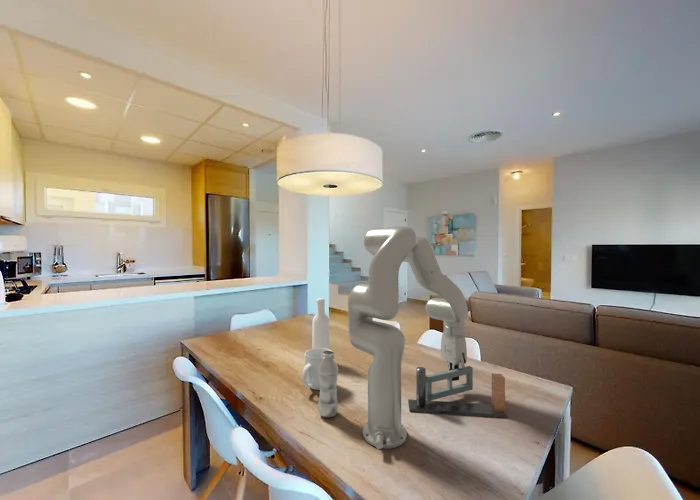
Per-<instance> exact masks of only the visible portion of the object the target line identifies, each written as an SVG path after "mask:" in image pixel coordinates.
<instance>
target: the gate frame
mask: <svg viewBox="0 0 700 500" xmlns="http://www.w3.org/2000/svg"><path fill="white" fill-rule="evenodd" d="M415 369H416V370H415V371H416V374H415V375H416V378H415V379H416V384H415V385H416V387H415V388H416V389H415V390H416V393H415V396H416V397H415V398H416V399H410V398H409V399H407V401H408V409H409V412H410V413H411V412H412V413H424V414H425V413H426V414H441V415H457V416H469V417H470V416H472V417H486V418H487V417H488V418H499V419H500V418H502V419H503V418H504V419H507V418H508V415H507V413H506V377H505V376H504V375H503V374H502V373H491V404H489V403H479V402H478V403H477V402H476V403H475V402H462V401H461V402H457V401H443V400H441V401H440V400H431V401H427V400H426V375H427V373H426V372H427V371H426V368H425V367H424V366H423V367H422V366H418V367H416V368H415Z"/></svg>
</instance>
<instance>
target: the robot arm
mask: <svg viewBox="0 0 700 500" xmlns="http://www.w3.org/2000/svg"><path fill="white" fill-rule="evenodd" d="M363 245H364V248H365V250H366V251H367V253H369V254H370V255H371V256H373V258H372V259H371V260H370V263H369V267H368V268H369V269H368V281H367V282H368V283H360V284H357V285H356V286H354V287H352V290H351V291H350V293H349V296H348V300H347V302H348V303H347V319H348V323H347V325H348V329H347V330H348V338H349V341H350V344H351V345H352V347H353V348H355V349H357V350H359V351H362V352H364V353H366V354H369V355H371V356H373V358H372V362H371V363H370V365H369V366H368V370H367V421H366V422H365V424H364V425H363V426H362V430H361V431H362V437H363V439H364V441H366V442H367V443H368V444H369V445H371V446H374V447H375V448H376V449H378V450H382V449H394V448H398V447H400V446H402V445H403V444H404V443H406V441H407V439H408V438H407V437H408V432H407V428H406V427H405V426H404V424H402V364H403V355H404V350H405V343H406V340H405V339H406V338H405V335H404V333H403V332H402V330H400V328H398V326H395V325H392V324H389V323H385V322H381V321H377V320H383V321H390V320H393V319H395V318H396V317H397V314H398V312H399V302H400V298H399V297H400V296H399V291H400V290H399V275H400V273H399V272H400V267H401V265H402V264H403V263H407V264H409V266H410V268H411V271H412V273H413V274H414V276H415V277H414V278H415V279H416V283H418V284H419V286H421V287H422V288H424V289H426V290H427V291H429V292H432V293H434V294H436V295H438V296H439V297H433V298H430V299H429V300H428V301H427V302H426V304H425V313H426V315H427V316H429V318H431V319H434V320H439V321H443V325H442V326H443V328H442V329H443V331H442V334H441V339H440V340H441V342H440V356H441V357H442V359H444V360H446V362H447V367H448V371H449V370H454V369H458V368H460V369H464V368H465V367H466V366H465V364H467V360H468V351H467V340H466V320H467V318H468V317H469V307H468V303H467V301H466V298H465V296H464V294H463V292H462V290H461V288H460V287H459V286H457V284H456V283H454V282H453V280H451V279H450V278H449V277H447V276H446V275H445V274H444V273H442V271H441V268H440V265H439V262H438V260H437V258H436V255H435V253H434V250H433V247H432V244H431V243H430V241H429V240H428V239H427V238H426V237H423V236H420V235H419V236H417V234H416V231H415V230H414V229H412V228H411V227H408V226H390V227H389V226H388V227H377V228H372V229H369V230H368V231H367V232H366V234H365V235H364V239H363ZM373 319H377V320H373ZM459 380H460V376H458V377H454V378H452V382H453V381H454V382H455V381H459Z"/></svg>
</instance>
